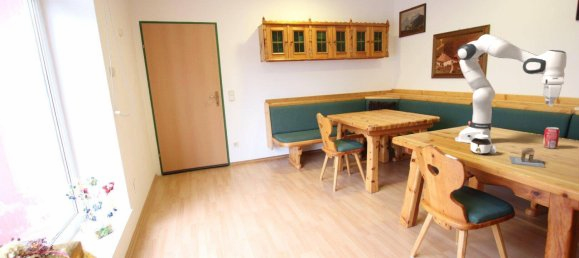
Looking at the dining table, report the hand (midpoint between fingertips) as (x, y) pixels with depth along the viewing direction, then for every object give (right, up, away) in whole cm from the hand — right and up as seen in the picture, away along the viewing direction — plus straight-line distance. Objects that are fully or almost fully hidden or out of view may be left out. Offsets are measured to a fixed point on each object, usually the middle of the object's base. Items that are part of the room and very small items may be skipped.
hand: (548, 105), depth 158 cm
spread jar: (-24, -29, +19) cm, 42 cm away
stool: (-12, -32, +1) cm, 34 cm away
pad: (-12, -32, +1) cm, 34 cm away
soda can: (+23, -26, +25) cm, 43 cm away
